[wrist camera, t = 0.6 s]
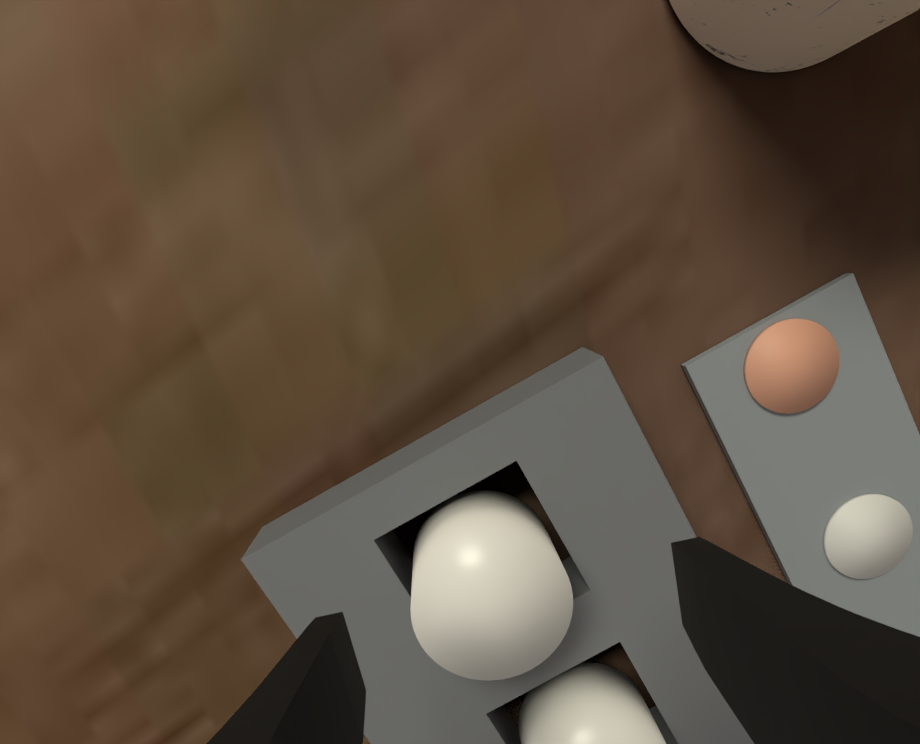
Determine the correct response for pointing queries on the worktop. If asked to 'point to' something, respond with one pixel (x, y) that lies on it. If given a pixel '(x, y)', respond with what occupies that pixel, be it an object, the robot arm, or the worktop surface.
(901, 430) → the pattern card
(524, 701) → the button middle
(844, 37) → the lidded enamel canister
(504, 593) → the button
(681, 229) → the worktop surface
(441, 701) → the button board
